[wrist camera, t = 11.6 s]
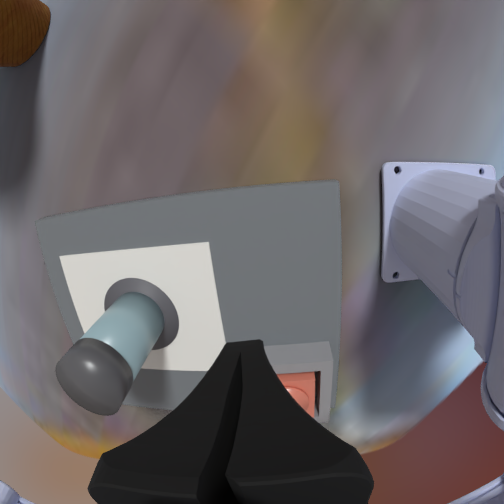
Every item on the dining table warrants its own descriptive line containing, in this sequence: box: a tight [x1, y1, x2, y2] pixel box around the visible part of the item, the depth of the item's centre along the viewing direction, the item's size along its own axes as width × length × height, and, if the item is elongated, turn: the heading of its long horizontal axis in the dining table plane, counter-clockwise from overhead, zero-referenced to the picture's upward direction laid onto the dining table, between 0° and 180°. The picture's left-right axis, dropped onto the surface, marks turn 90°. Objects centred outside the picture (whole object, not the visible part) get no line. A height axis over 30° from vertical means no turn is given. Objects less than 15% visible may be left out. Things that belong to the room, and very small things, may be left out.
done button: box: [276, 371, 315, 418], centre depth 20 cm, size 4×4×3 cm
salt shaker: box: [56, 292, 165, 416], centre depth 17 cm, size 4×4×8 cm
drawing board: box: [35, 179, 342, 423], centre depth 21 cm, size 22×18×3 cm
